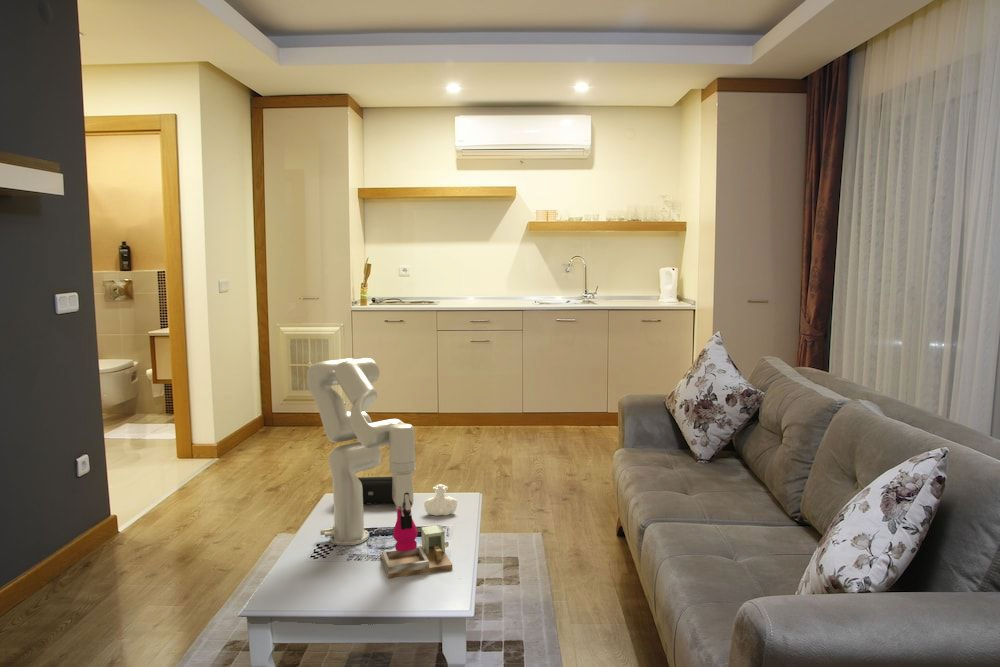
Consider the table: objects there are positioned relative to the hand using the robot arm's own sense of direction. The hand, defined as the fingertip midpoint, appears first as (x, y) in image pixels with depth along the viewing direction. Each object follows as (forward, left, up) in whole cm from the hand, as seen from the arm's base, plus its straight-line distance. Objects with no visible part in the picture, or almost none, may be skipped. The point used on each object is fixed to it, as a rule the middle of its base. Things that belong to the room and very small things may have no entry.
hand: (404, 524), depth 212 cm
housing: (+10, +7, -12) cm, 17 cm away
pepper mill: (0, -1, -7) cm, 7 cm away
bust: (+20, +41, -14) cm, 48 cm away
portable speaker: (-2, +60, -14) cm, 62 cm away
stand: (+3, +2, -13) cm, 14 cm away
